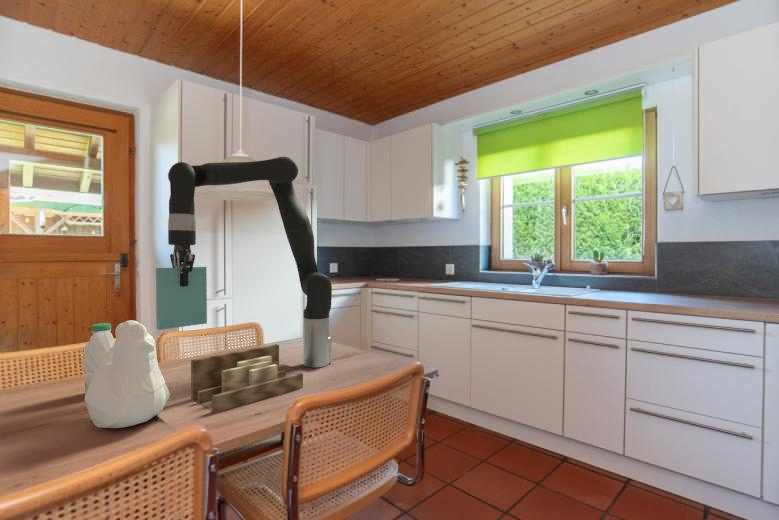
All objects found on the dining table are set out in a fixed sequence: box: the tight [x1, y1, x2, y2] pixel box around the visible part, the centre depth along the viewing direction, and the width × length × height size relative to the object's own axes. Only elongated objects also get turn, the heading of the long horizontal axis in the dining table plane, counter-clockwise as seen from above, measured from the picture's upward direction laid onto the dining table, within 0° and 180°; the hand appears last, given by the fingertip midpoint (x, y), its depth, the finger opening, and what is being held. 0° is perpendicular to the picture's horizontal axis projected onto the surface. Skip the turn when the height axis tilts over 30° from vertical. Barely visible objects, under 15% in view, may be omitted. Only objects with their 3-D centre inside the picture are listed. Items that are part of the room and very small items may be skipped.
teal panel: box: [155, 266, 208, 331], centre depth 126 cm, size 14×2×18 cm, turn 138°
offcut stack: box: [222, 356, 277, 393], centre depth 114 cm, size 15×4×9 cm, turn 138°
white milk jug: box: [81, 319, 171, 429], centre depth 100 cm, size 25×16×25 cm, turn 54°
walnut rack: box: [190, 343, 304, 414], centre depth 115 cm, size 26×14×12 cm, turn 138°
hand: (182, 285), depth 126 cm, fingers closed on teal panel, 2 cm apart
